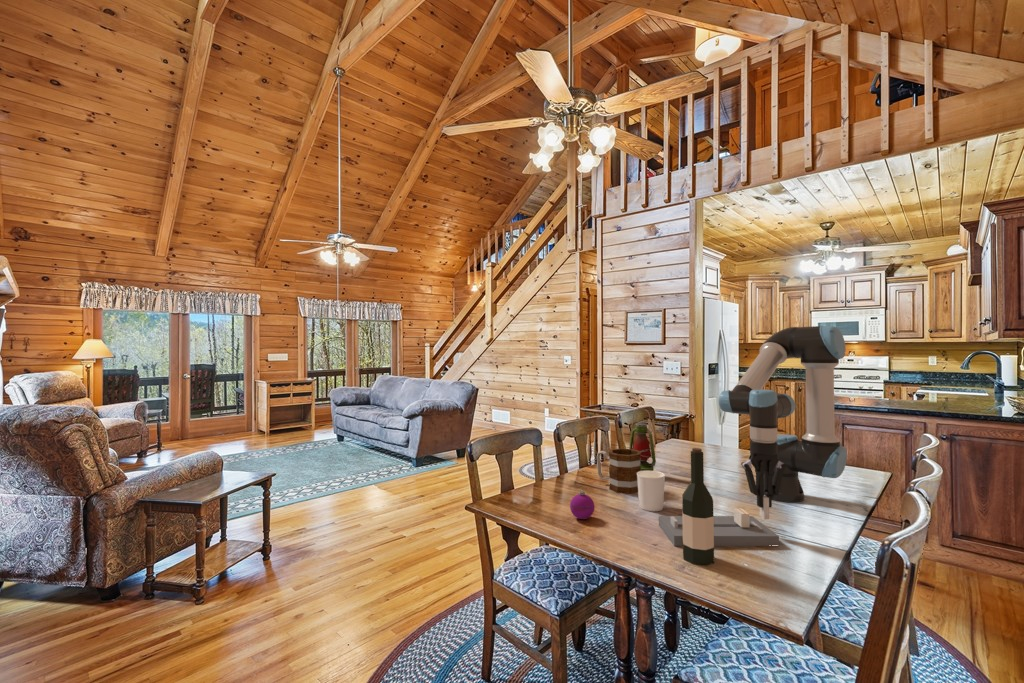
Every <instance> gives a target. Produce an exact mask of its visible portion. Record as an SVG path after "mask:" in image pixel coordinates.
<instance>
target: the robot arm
mask: <svg viewBox="0 0 1024 683" xmlns="http://www.w3.org/2000/svg"><path fill="white" fill-rule="evenodd" d="M844 357H846V341H845V339H844V335H843V333H842V331H841V330H840V329H839V328H838V327H836V326H830V325H817V326H815V325H814V326H798V327H797V326H790V327H787V328H783V329H781V330H778V331H777V332H775V333H773V334H772V335H771V336H769V337H767V339H765V341H764V342H763V343H762V344H761V346H760V347H759V353H758V355H757V356H756V357H755V359H754V360H753V361H752V363H751V364H750V365H749V367H748V368H747V370H746V371H745V372H744V374H743V375H742V376H741V378H740V379H739V380H738V382H737V383H736V385H735V386H734V387H733V389H732V390H730V389H728V390H723V391H721V392H720V393H719V396H718V401H717V402H718V407H719V409H720V410H721V411H722V412H724V413H729V414H730V413H731V414H737V415H738V414H739V415H748V416H749V439H750V441H749V457H748V459H747V460H746V461H745V462H743V461H742V462H741V464H740V465H741V466H742V468H743V469H744V472H745V476H746V480H747V483H748V489H749V492H750V493H751V494H752V495H755V496H756V506H757V507H759V517H760V518H762V519H763V520H770V508H772V506H773V500H774V501H779V502H787V503H788V502H789V503H792V502H793V503H794V502H795V503H796V502H802V501H804V500H805V492H804V490H803V487H802V484H801V481H800V478H799V473H803V474H808V475H813V476H818V477H822V478H830V479H837V478H839V477H841V475H842V474H843V472H844V471H845V467H846V465H847V460H848V452H847V448H846V447H845V446H843V445H841V439H839V437H838V436H836V434H835V433H836V432H835V431H836V430H835V429H836V427H835V372H834V371H835V370H834V369H835V367H837V366H838V365H839V363H840V361H839V360H841V359H844ZM787 359H800V364H801V365H802V366H803V367H804V368H805V407H806V408H805V414H806V415H805V416H806V417H805V418H806V419H805V422H806V425H805V426H806V429H805V430H806V432H805V434H803V435H802V436H801V440H800V439H799V438H798V436H797V435H794V434H778V419H782V418H787V417H789V416H791V415H792V414H794V412H795V410H796V401H795V400H794V398H793V397H792V396H791V395H790V394H787V393H780V392H779V393H777V392H776V391H775V390H773V389H763V388H764V387H765V386H766V384H767V383H768V381H769V380H770V379H771V376H772V375H773V374H774V373H775V371H776V370H777V369H778V367H779V365H781V364H783V363H784V362H786V361H787ZM752 468H754V472H755V477H754V473H753V469H752Z"/></svg>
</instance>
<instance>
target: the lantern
mask: <svg viewBox="0 0 1024 683" xmlns="http://www.w3.org/2000/svg"><path fill="white" fill-rule="evenodd" d="M636 411H646V412H647V413H648V417H649V418H648V420H649V422H648V423H649V427H650V429H651V431H650V430H649V429H648V423H646V422H644V421H643V420H640V419H644V417H641V416H640V417H639V418H638V420H639V421H638V422H636V423H635V428H632V427H633V426H634V421H635V420H634V414H635V412H636ZM630 429H631V431H630V440H629V447H628V449H634V450H637V451H641V456H640V464H641V471H654V467H655V466H656V463H657V460H656V452H655V446H654V438H653V434H652V433H653V432H654V430H653V428H652V425H651V415H650V411H649V410H647V409H646V408H641V407H640V408H639V407H638V408H636V409H634V410H633V412H632V424H631V425H630ZM635 433H636V437H635ZM647 434H648V436H647ZM634 437H635V439H634ZM648 438H649V439H648ZM649 459H651V460H652V462H651V463H649V462H648V460H649Z"/></svg>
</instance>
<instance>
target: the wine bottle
mask: <svg viewBox="0 0 1024 683" xmlns="http://www.w3.org/2000/svg"><path fill="white" fill-rule="evenodd" d="M704 469H705V468H704V452H703V451H702V448H699V447H693V448H692V449H691V451H690V482H689V484H688V485H687V487H686V489H685V490H683V493H682V496H681V497H682V498H681V499H682V500H681V501H682V516H683V546H682V556H683V557H682V558H683V560H684V561H686V562H688V563H689V564H692V565H696V566H703V567H706V566H709V565H713V564H715V546H714V517H713V516H714V498H713V496H712V494H711V493H710V492H709V490H708V487H707V486H706V485H705V480H704V478H705V477H704V476H705V472H704Z"/></svg>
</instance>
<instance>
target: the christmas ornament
mask: <svg viewBox="0 0 1024 683" xmlns="http://www.w3.org/2000/svg"><path fill="white" fill-rule="evenodd" d="M594 502H595V501H594V500H593V499H592V497H590V496H589V495H588V494H586V492H585V490H584V489H583V488H581V489H580V490H579V493H578V494H576V495H574V496H573V497H572V499H571V501H570V504H569V509H570V512H571V514H572V515H573V516H574V517H575V518H576V519H579V520H588V519H589V518H591V516H592V515H593V514H594V511H595V503H594Z"/></svg>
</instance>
